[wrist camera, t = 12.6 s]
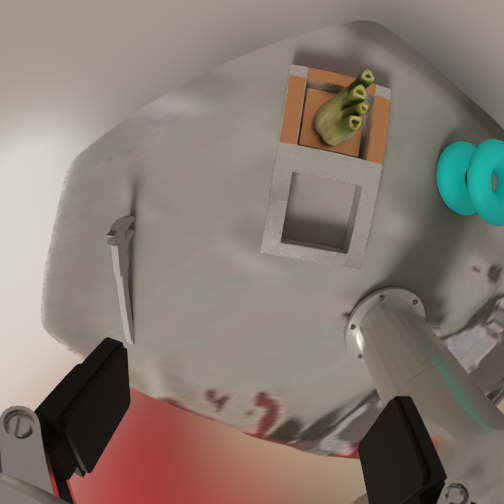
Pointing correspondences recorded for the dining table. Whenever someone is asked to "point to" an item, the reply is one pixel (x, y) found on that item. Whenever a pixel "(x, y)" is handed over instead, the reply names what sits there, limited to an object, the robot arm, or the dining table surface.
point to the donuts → (473, 179)
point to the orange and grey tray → (326, 164)
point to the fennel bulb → (344, 111)
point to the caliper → (122, 269)
